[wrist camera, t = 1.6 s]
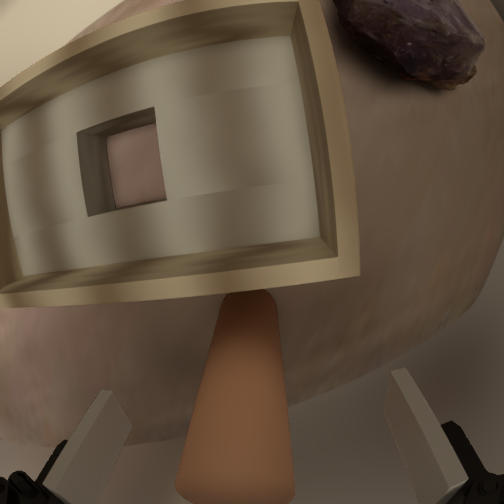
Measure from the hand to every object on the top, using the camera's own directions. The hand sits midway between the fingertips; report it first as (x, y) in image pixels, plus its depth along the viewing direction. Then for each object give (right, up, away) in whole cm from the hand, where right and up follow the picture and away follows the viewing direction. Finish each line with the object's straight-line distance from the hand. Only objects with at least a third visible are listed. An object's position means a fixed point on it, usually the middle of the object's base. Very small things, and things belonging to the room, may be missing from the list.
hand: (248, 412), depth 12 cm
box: (-8, +14, +7) cm, 17 cm away
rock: (+10, +24, +4) cm, 26 cm away
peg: (0, +3, +10) cm, 11 cm away
